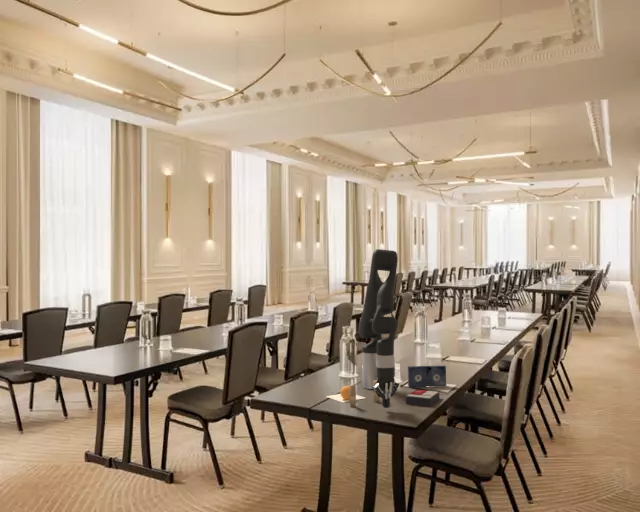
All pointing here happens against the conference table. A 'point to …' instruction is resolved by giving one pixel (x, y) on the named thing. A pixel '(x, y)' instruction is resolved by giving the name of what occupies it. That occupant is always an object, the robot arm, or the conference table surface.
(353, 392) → the post
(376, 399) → the post
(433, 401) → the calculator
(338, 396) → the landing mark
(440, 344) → the conference table surface
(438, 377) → the vhs cassette tape
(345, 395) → the ball
